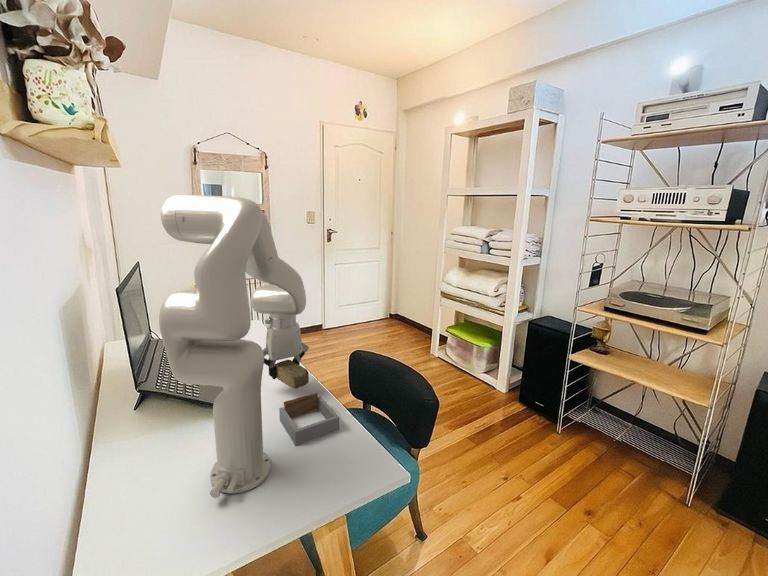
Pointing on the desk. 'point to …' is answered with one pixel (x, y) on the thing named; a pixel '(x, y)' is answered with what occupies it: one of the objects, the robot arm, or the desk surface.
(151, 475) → the desk surface
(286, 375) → the stone block
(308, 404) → the wooden board
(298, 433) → the grey open square tray
